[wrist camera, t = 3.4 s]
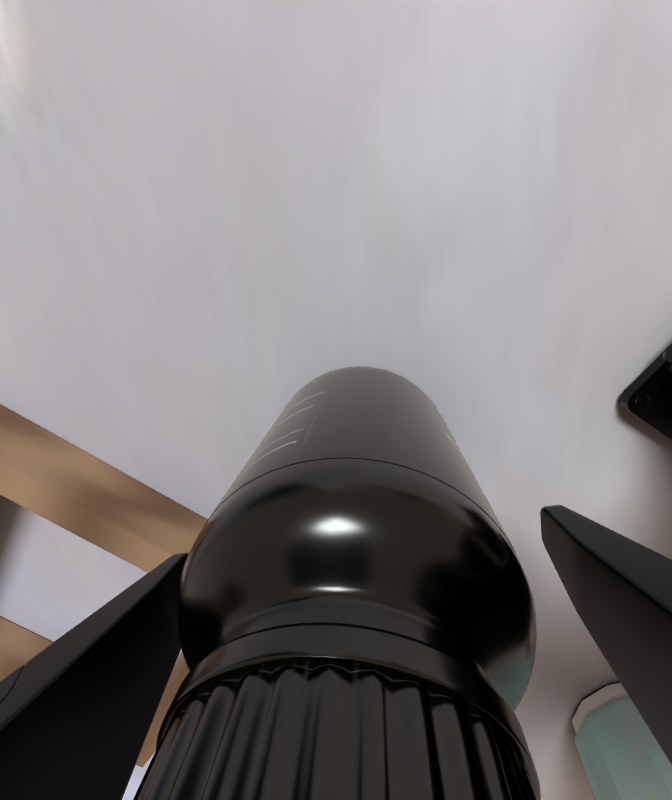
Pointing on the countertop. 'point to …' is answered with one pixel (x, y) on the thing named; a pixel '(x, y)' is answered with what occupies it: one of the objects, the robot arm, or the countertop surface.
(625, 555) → the robot arm
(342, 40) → the countertop surface
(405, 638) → the supplement bottle
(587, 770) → the disposable coffee cup
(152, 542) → the square wooden frame
